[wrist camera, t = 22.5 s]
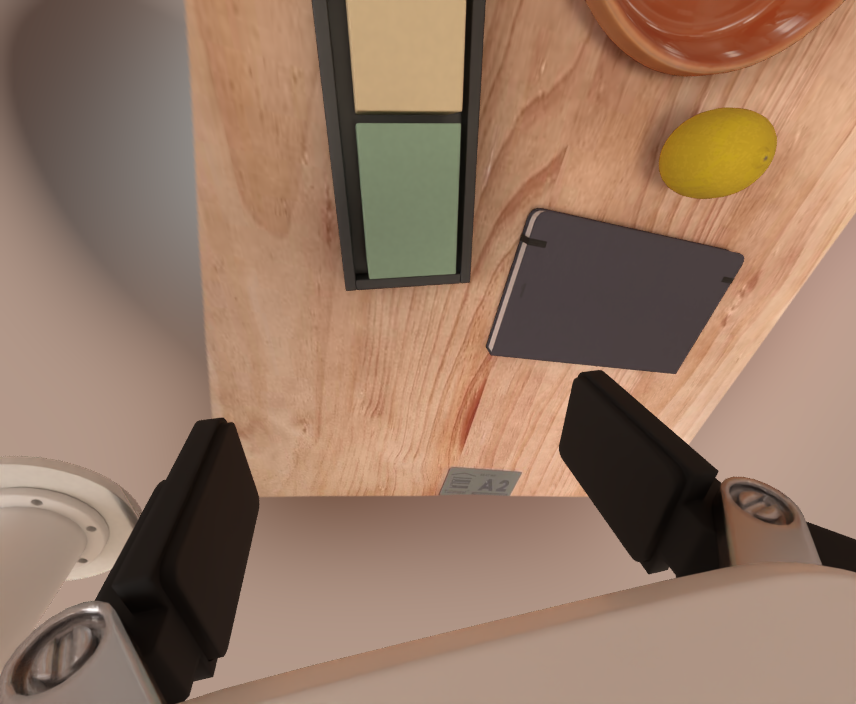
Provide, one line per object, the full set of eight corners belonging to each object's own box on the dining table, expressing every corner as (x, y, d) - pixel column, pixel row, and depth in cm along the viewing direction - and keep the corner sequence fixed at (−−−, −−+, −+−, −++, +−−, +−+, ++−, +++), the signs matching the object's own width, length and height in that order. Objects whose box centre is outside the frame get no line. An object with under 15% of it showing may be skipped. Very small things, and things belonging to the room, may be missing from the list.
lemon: (661, 100, 27) (766, 87, 20) (715, 125, 29) (829, 122, 22) (623, 180, 30) (705, 193, 23) (675, 199, 31) (766, 217, 24)
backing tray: (346, 282, 30) (345, 291, 28) (297, -131, 19) (293, -157, 17) (463, 274, 31) (470, 282, 29) (481, -111, 20) (493, -134, 19)
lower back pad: (366, 262, 29) (369, 279, 25) (355, 124, 24) (356, 122, 21) (443, 258, 30) (456, 274, 26) (445, 125, 25) (461, 123, 22)
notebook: (485, 347, 35) (665, 366, 41) (490, 355, 34) (676, 374, 39) (530, 205, 29) (733, 250, 35) (539, 209, 28) (748, 255, 34)
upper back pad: (355, 114, 24) (356, 110, 20) (337, -92, 19) (335, -140, 16) (446, 115, 25) (462, 111, 21) (450, -81, 20) (471, -125, 17)
